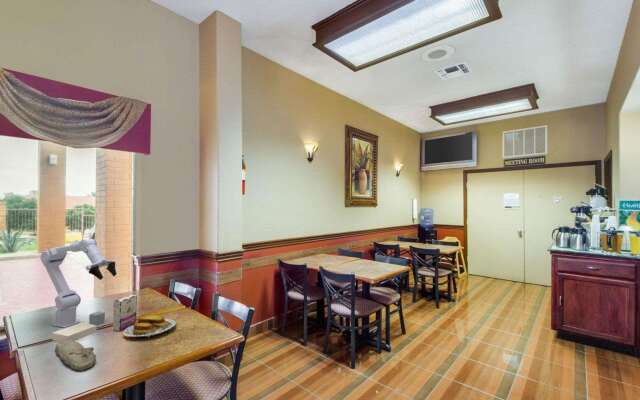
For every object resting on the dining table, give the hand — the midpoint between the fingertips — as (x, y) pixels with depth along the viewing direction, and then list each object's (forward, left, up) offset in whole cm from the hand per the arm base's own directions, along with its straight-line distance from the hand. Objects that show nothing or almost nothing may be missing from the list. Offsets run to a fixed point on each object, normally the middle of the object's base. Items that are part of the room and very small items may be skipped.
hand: (108, 276), depth 161 cm
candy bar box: (+5, +7, -29) cm, 30 cm away
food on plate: (+22, +8, -29) cm, 37 cm away
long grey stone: (+13, -25, -30) cm, 41 cm away
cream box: (-8, -10, -29) cm, 32 cm away
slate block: (-13, +5, -29) cm, 32 cm away
